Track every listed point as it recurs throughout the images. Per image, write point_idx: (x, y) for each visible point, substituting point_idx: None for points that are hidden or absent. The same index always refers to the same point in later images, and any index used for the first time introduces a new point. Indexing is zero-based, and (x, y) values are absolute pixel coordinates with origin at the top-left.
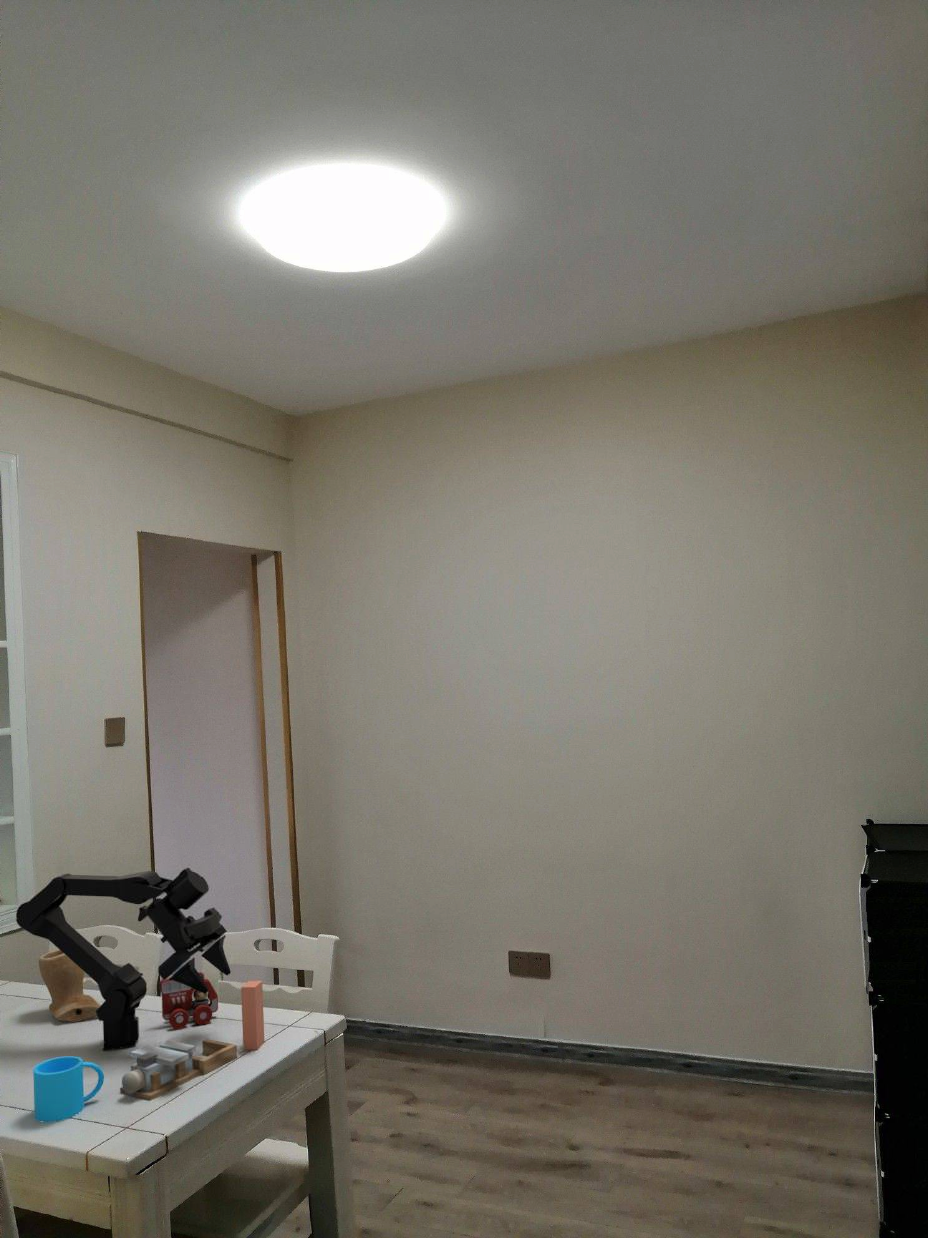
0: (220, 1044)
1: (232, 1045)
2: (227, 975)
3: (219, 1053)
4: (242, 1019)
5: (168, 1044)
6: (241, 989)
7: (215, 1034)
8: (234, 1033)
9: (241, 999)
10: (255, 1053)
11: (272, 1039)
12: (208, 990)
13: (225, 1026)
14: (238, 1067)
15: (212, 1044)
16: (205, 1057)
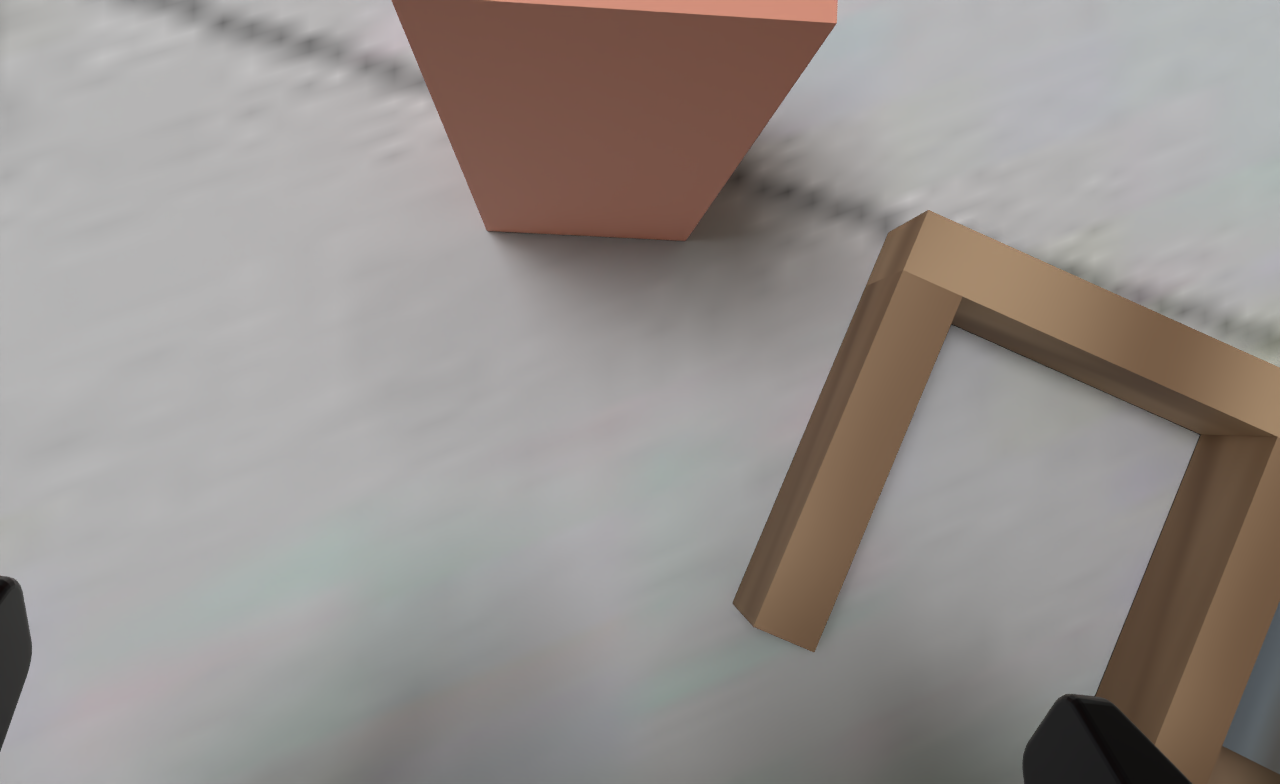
0: (919, 397)
1: (943, 251)
2: (25, 646)
3: (1160, 314)
4: (729, 172)
5: None
6: (822, 30)
7: (251, 707)
8: (225, 502)
9: (782, 99)
10: None
11: None
12: (1084, 695)
13: None
14: (1101, 142)
15: (867, 508)
16: (1264, 425)
